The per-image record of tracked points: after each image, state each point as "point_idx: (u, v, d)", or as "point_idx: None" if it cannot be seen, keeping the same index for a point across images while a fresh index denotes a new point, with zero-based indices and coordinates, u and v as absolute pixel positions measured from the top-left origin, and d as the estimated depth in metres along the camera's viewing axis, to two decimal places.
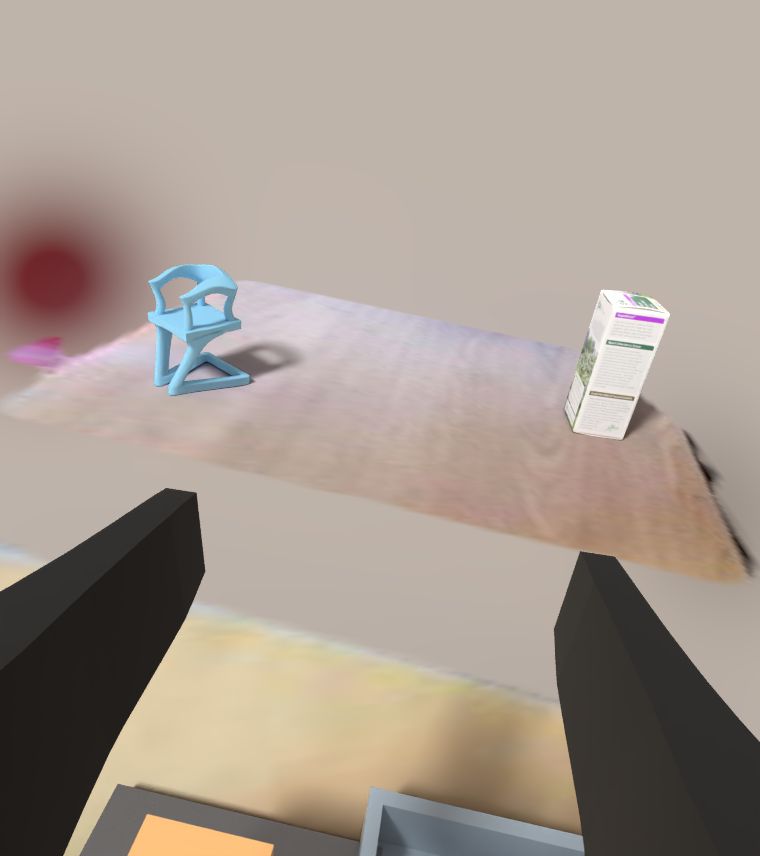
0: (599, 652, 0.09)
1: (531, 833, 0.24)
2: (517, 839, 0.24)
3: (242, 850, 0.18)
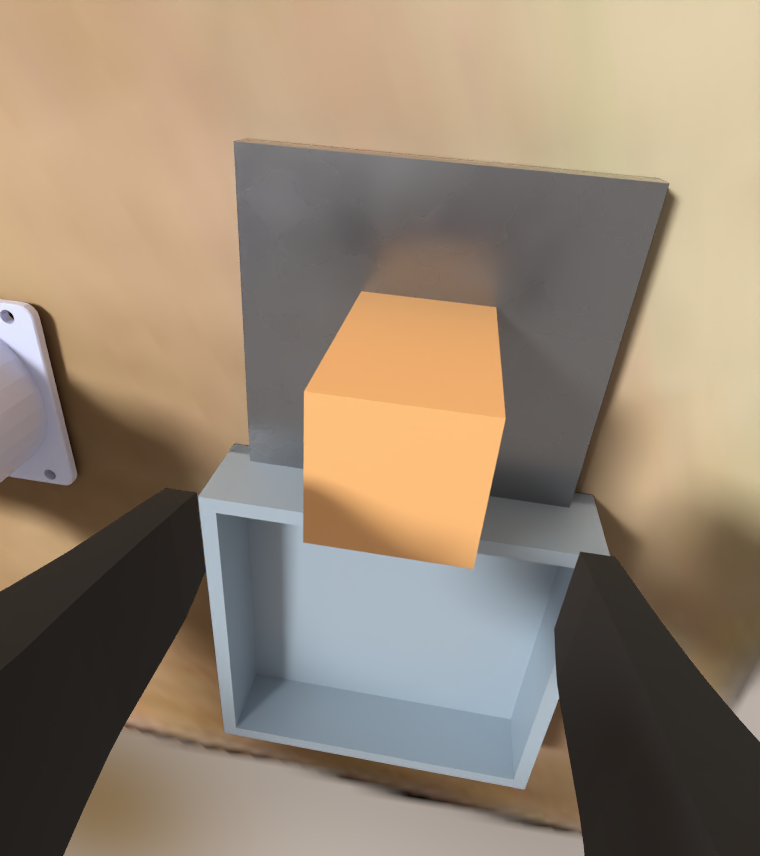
0: (599, 652, 0.09)
1: (552, 688, 0.22)
2: (548, 672, 0.22)
3: (464, 538, 0.14)
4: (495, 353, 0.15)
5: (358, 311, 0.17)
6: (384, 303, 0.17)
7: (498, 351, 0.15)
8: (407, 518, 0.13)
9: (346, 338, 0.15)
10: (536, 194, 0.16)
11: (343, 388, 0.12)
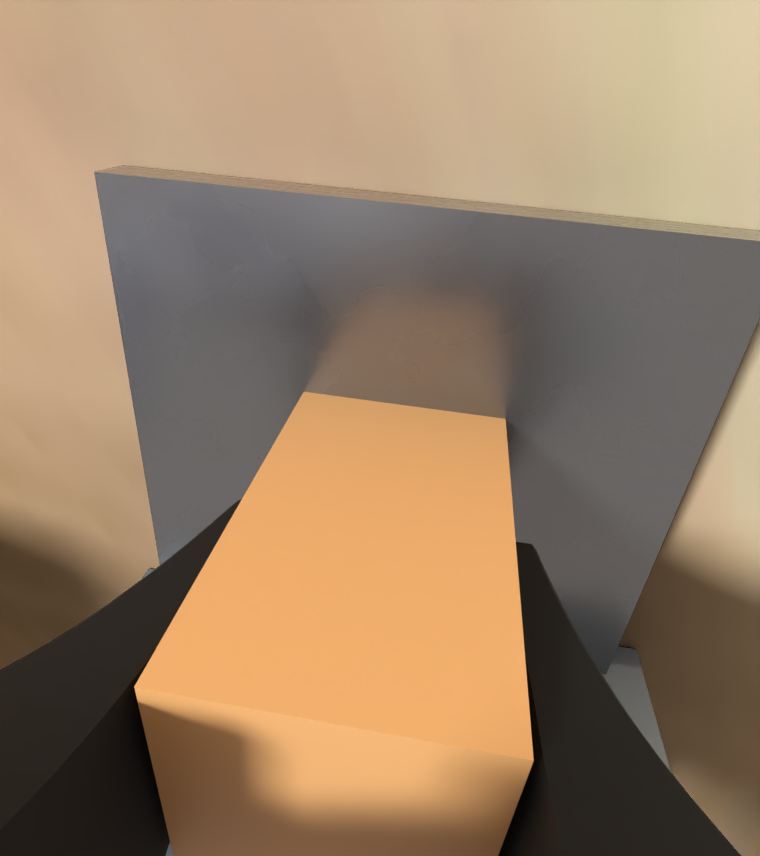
0: None
1: None
2: None
3: None
4: (507, 537, 0.09)
5: (290, 439, 0.11)
6: (334, 418, 0.11)
7: (512, 531, 0.09)
8: None
9: (257, 509, 0.09)
10: (571, 257, 0.10)
11: (218, 669, 0.06)
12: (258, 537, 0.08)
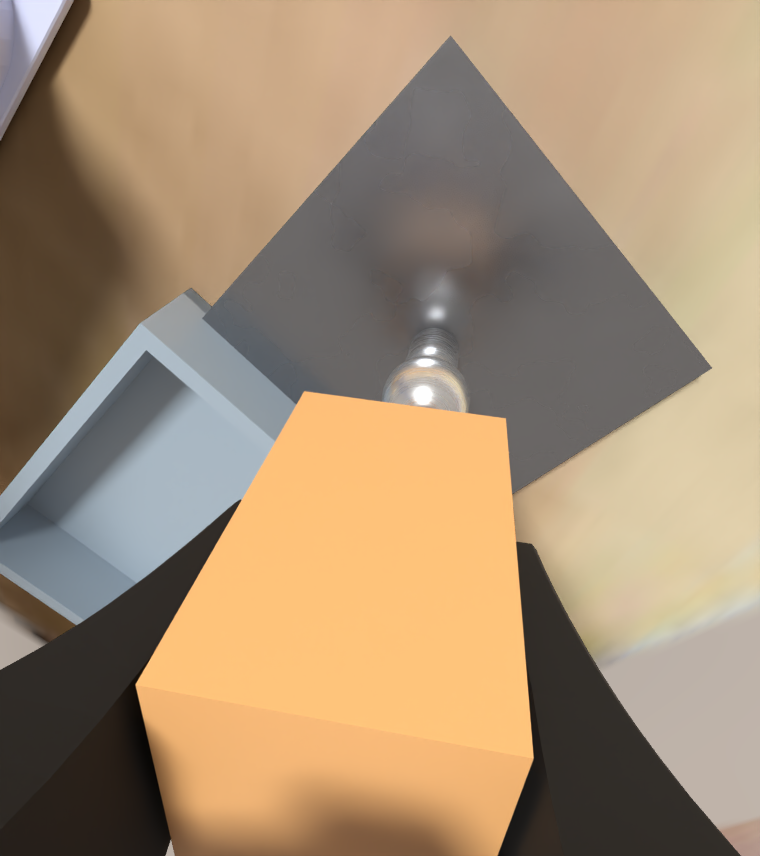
0: None
1: None
2: None
3: None
4: (507, 536, 0.09)
5: (291, 438, 0.11)
6: (334, 418, 0.11)
7: (512, 530, 0.09)
8: None
9: (257, 508, 0.09)
10: (630, 300, 0.17)
11: (219, 667, 0.06)
12: (259, 536, 0.08)
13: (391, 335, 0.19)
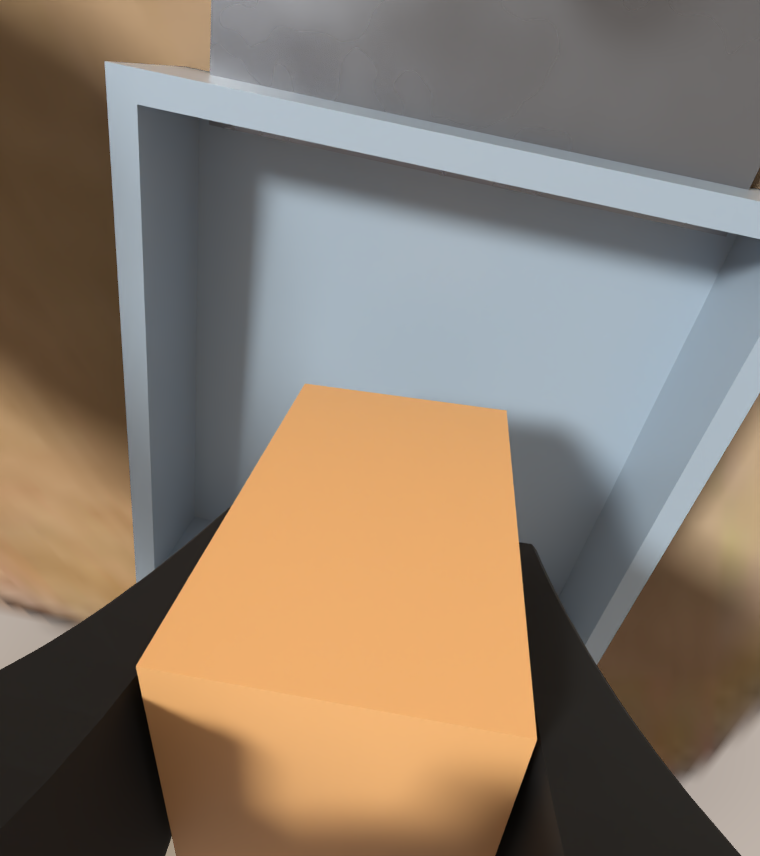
0: None
1: (672, 510, 0.14)
2: (669, 483, 0.14)
3: None
4: (509, 524, 0.09)
5: (291, 429, 0.11)
6: (335, 408, 0.11)
7: (514, 518, 0.09)
8: (351, 850, 0.07)
9: (259, 496, 0.09)
10: None
11: (220, 649, 0.06)
12: (260, 523, 0.08)
13: None
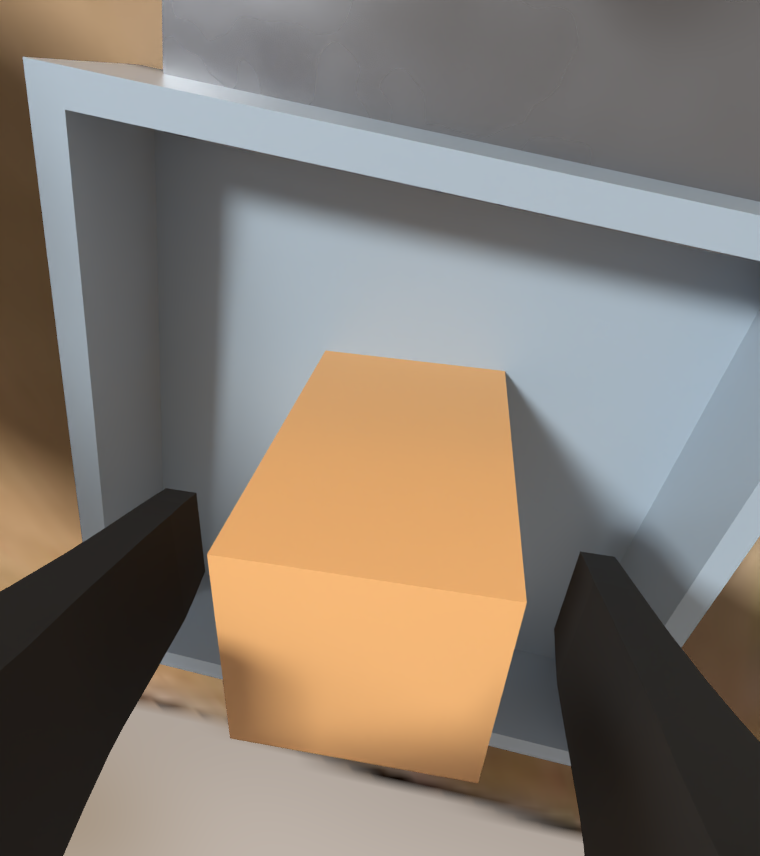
0: (600, 652, 0.09)
1: (706, 582, 0.12)
2: (703, 552, 0.12)
3: (464, 746, 0.09)
4: (506, 457, 0.10)
5: (317, 386, 0.12)
6: (354, 370, 0.13)
7: (510, 453, 0.10)
8: (378, 719, 0.09)
9: (293, 436, 0.10)
10: None
11: (272, 543, 0.08)
12: (295, 456, 0.10)
13: None
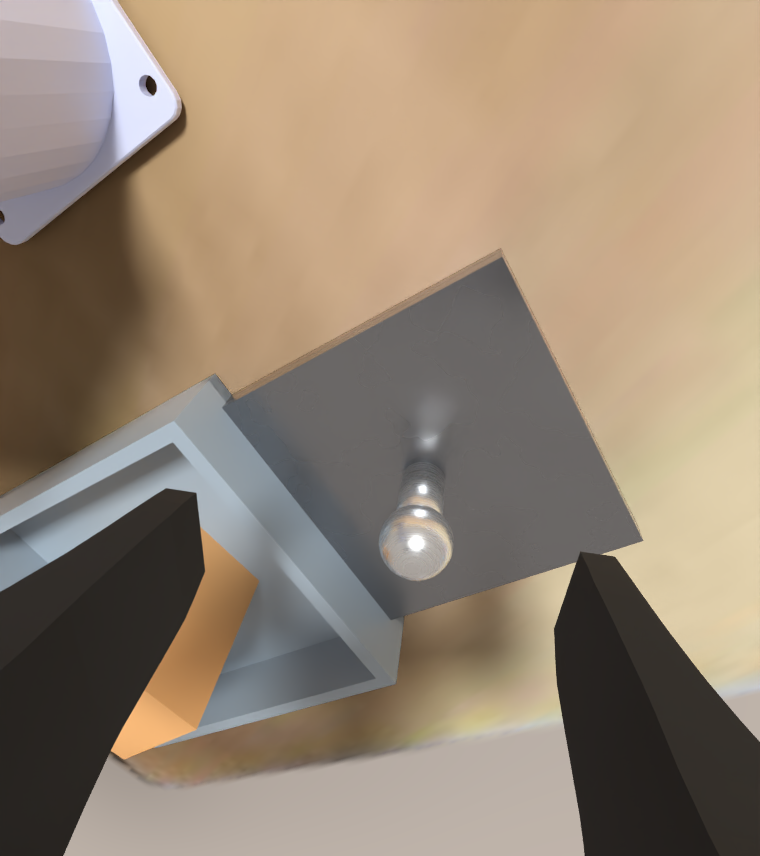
0: (599, 652, 0.09)
1: (263, 713, 0.26)
2: (270, 702, 0.26)
3: (131, 748, 0.21)
4: (228, 647, 0.23)
5: None
6: None
7: (231, 645, 0.23)
8: None
9: None
10: (593, 479, 0.20)
11: None
12: None
13: (390, 460, 0.21)
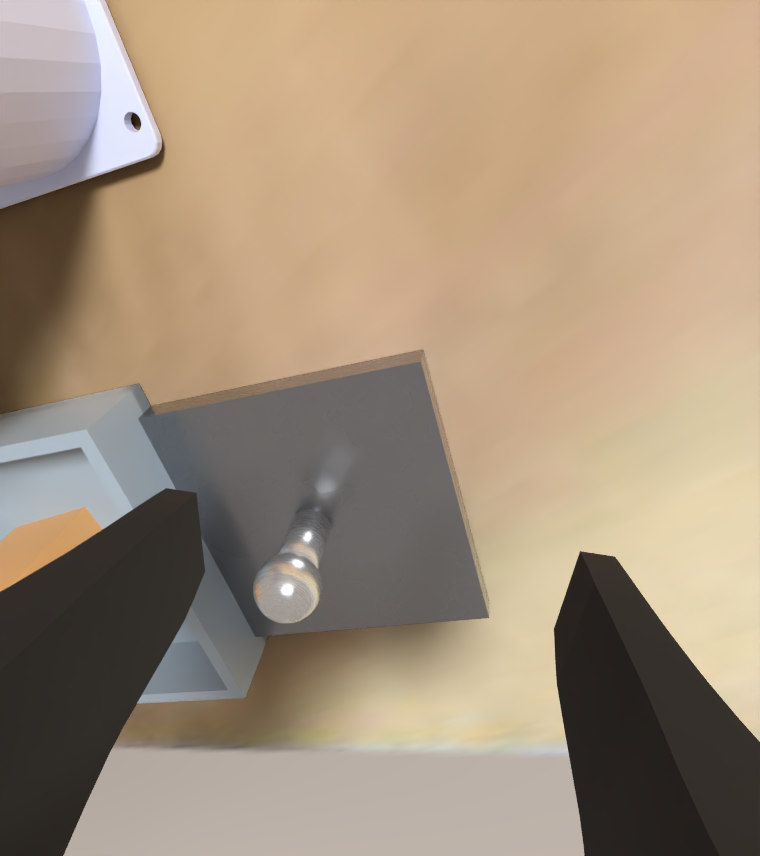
0: (600, 652, 0.09)
1: None
2: None
3: None
4: None
5: (62, 539, 0.24)
6: (84, 535, 0.25)
7: None
8: None
9: None
10: (458, 559, 0.23)
11: None
12: None
13: (285, 501, 0.23)
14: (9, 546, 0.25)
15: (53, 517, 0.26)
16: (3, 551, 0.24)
